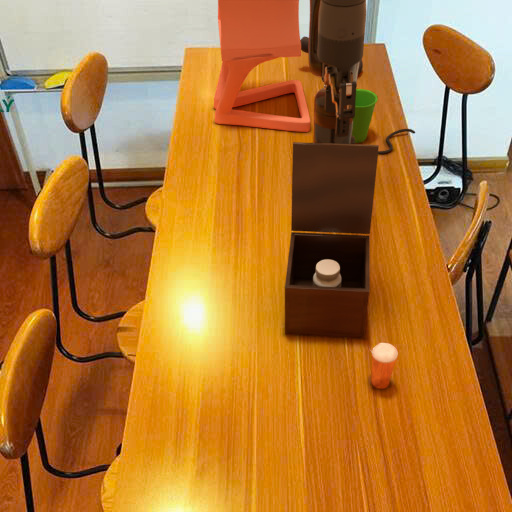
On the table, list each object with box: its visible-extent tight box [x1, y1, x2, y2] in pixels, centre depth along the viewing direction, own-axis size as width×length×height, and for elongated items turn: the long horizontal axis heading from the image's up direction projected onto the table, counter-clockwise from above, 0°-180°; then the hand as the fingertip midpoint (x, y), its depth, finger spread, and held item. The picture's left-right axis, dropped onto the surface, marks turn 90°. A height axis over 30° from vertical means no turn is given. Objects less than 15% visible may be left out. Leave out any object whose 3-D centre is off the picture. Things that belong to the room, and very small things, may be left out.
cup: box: [352, 88, 379, 144], centre depth 178 cm, size 9×9×11 cm
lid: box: [290, 141, 380, 235], centre depth 131 cm, size 17×16×1 cm
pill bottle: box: [313, 259, 342, 287], centre depth 137 cm, size 6×6×10 cm
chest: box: [284, 231, 371, 340], centre depth 137 cm, size 17×16×12 cm
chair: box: [213, 0, 311, 133], centre depth 178 cm, size 24×26×35 cm
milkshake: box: [368, 342, 399, 390], centre depth 124 cm, size 4×5×10 cm
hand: (336, 123), depth 122 cm, fingers open, 8 cm apart
